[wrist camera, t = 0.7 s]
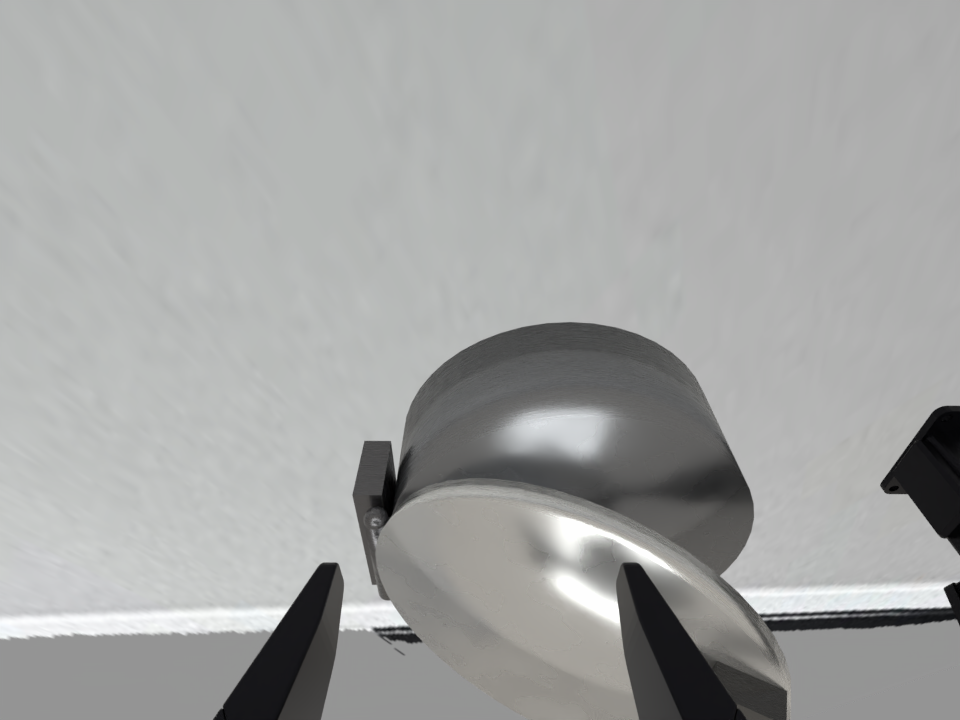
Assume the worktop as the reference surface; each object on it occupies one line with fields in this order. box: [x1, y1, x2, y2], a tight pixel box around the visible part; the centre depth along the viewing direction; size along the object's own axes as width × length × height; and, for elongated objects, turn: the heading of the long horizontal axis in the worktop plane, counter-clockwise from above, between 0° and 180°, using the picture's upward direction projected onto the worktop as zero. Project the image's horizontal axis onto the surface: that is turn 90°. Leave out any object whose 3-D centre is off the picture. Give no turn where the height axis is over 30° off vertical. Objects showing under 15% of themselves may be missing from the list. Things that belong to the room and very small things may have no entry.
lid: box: [364, 478, 791, 720], centre depth 21 cm, size 16×16×2 cm
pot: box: [352, 322, 754, 585], centre depth 27 cm, size 17×16×6 cm
